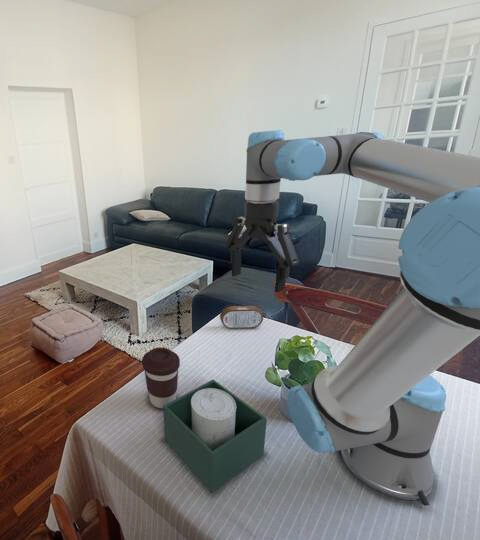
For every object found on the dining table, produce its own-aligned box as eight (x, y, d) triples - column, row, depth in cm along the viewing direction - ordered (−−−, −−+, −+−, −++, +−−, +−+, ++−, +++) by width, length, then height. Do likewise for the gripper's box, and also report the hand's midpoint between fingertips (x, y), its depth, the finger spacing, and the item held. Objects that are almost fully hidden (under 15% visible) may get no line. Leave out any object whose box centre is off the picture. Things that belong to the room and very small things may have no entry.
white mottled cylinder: (239, 437, 79) (241, 396, 75) (227, 470, 72) (229, 426, 67) (199, 423, 84) (199, 383, 80) (185, 452, 77) (184, 410, 72)
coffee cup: (139, 394, 96) (135, 349, 91) (169, 383, 99) (168, 340, 94) (154, 417, 88) (151, 370, 82) (187, 405, 91) (186, 359, 85)
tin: (261, 324, 125) (262, 304, 122) (263, 329, 122) (265, 308, 119) (219, 325, 127) (219, 305, 124) (221, 330, 124) (221, 309, 121)
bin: (263, 455, 75) (266, 418, 71) (211, 493, 68) (212, 454, 64) (212, 412, 88) (213, 379, 84) (164, 440, 81) (163, 405, 77)
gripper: (323, 203, 72) (311, 293, 79) (232, 194, 92) (230, 266, 100) (301, 209, 68) (291, 303, 76) (212, 198, 89) (211, 272, 96)
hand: (256, 282), depth 88 cm, fingers open, 13 cm apart
